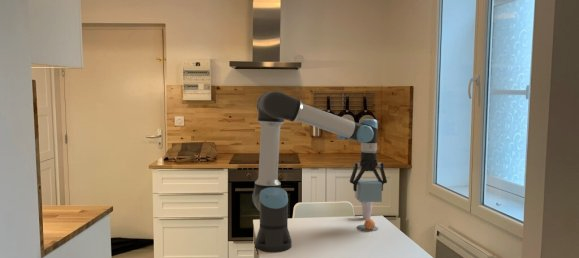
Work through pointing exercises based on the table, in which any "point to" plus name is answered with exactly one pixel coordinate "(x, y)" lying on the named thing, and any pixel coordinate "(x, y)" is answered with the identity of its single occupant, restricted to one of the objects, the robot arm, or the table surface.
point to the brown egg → (369, 224)
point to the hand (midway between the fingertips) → (367, 197)
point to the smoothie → (366, 209)
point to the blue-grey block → (369, 190)
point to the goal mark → (362, 227)
